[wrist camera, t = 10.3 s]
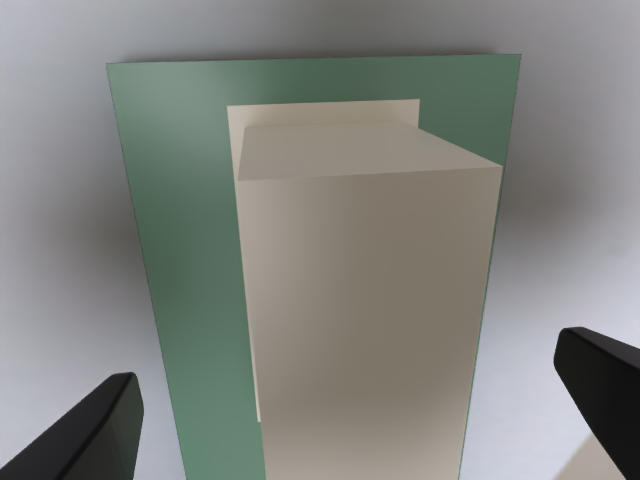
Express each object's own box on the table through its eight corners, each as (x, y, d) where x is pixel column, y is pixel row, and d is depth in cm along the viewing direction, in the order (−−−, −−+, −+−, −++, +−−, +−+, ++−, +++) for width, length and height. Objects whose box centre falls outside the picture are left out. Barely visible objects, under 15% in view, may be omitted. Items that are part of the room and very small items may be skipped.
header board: (436, 550, 20) (470, 644, 17) (214, 586, 19) (206, 693, 16) (501, 54, 12) (590, 54, 9) (117, 62, 11) (60, 66, 8)
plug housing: (388, 395, 15) (448, 548, 10) (268, 409, 14) (275, 575, 10) (402, 121, 11) (503, 166, 7) (244, 127, 11) (237, 180, 6)
